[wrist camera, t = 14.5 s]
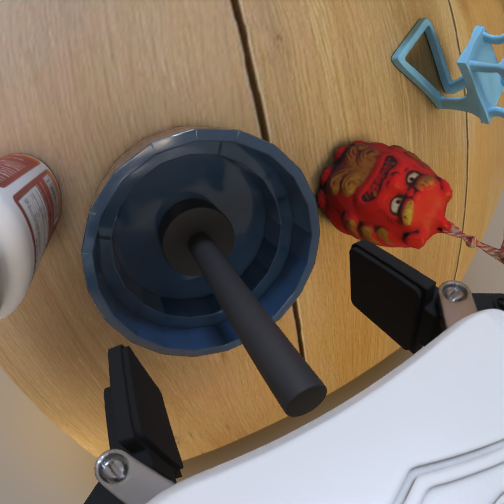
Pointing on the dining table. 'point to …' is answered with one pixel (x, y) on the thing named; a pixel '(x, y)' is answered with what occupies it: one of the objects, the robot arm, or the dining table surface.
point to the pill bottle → (24, 224)
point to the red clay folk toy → (388, 198)
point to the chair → (471, 66)
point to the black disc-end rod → (238, 301)
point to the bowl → (229, 203)
